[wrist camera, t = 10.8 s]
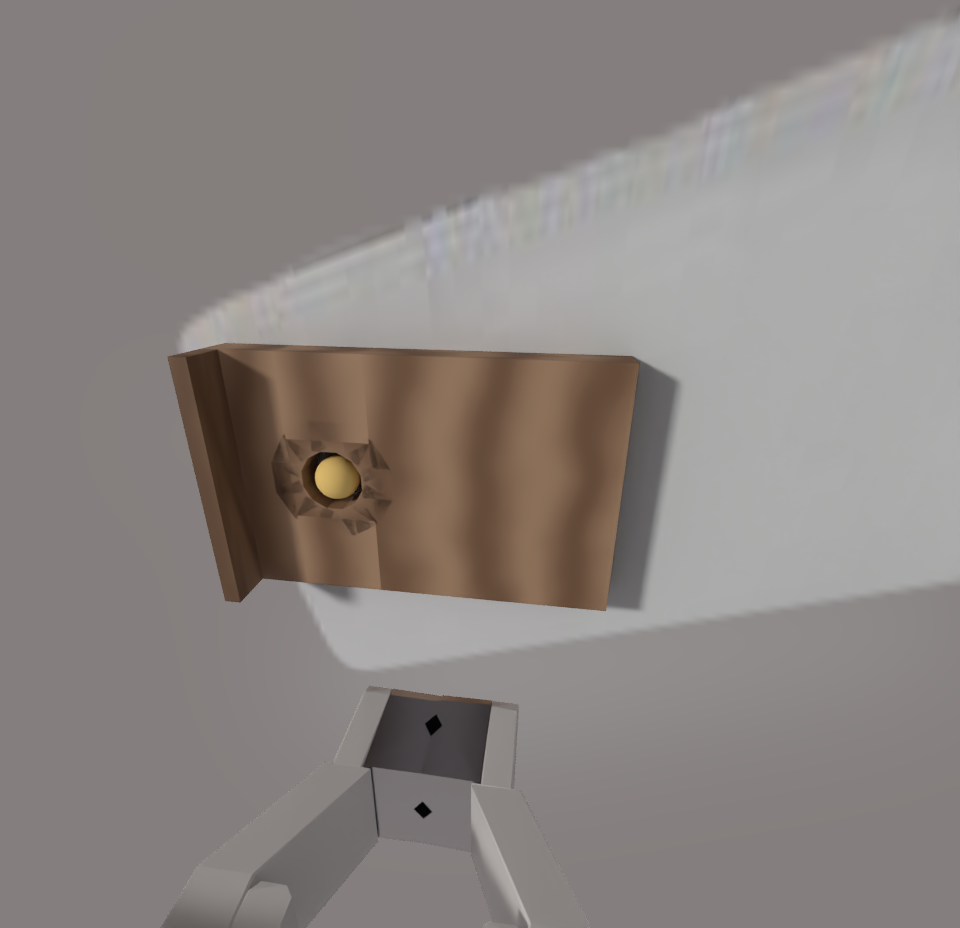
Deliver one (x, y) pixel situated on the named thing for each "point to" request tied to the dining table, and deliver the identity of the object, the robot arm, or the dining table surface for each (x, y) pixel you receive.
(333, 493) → the ball
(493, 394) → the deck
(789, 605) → the dining table surface
